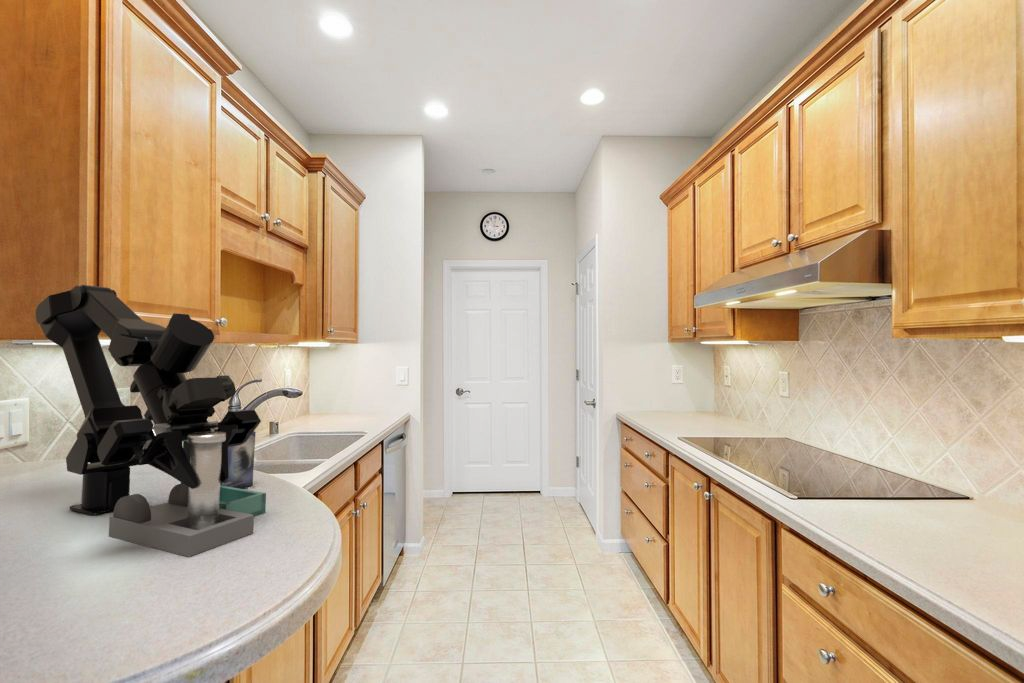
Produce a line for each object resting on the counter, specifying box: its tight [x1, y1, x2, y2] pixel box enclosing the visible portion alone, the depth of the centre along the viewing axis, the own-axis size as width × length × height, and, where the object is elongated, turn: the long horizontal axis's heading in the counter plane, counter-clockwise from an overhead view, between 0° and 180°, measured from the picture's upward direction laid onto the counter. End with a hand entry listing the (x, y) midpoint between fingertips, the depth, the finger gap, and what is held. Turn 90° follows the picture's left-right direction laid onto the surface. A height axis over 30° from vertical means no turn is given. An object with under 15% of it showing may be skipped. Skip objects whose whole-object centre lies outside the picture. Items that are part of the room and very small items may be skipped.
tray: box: [219, 486, 267, 517], centre depth 76 cm, size 10×7×3 cm
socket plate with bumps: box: [108, 483, 255, 558], centre depth 67 cm, size 16×9×6 cm, turn 68°
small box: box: [180, 431, 257, 489], centre depth 88 cm, size 11×6×10 cm, turn 168°
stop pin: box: [187, 431, 226, 530], centre depth 65 cm, size 4×4×14 cm
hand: (211, 483), depth 65 cm, fingers closed on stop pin, 4 cm apart
